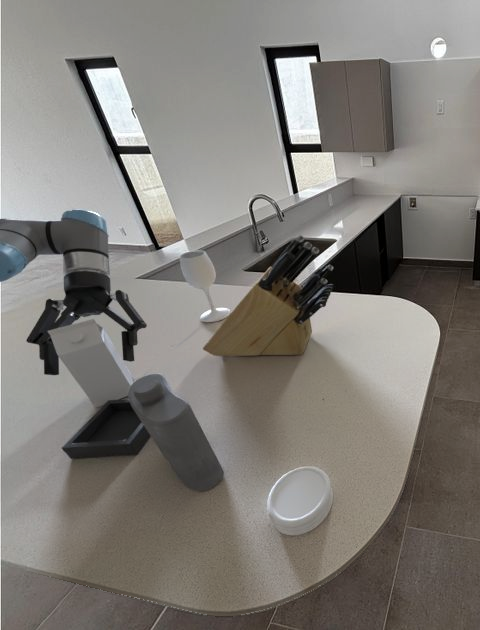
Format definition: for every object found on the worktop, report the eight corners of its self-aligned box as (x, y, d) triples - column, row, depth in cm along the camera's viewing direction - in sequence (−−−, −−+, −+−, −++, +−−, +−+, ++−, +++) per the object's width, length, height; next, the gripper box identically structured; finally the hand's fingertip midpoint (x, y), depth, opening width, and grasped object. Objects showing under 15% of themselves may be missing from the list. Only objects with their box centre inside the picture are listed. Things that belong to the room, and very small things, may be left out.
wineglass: (197, 315, 108) (172, 253, 97) (226, 306, 113) (205, 246, 102) (204, 325, 102) (178, 262, 91) (234, 316, 107) (212, 254, 96)
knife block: (337, 356, 89) (319, 246, 73) (205, 358, 89) (158, 247, 73) (344, 333, 99) (330, 231, 83) (225, 334, 98) (187, 231, 82)
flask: (161, 454, 64) (110, 375, 53) (193, 434, 68) (152, 357, 57) (194, 502, 56) (142, 421, 46) (229, 476, 60) (188, 396, 49)
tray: (70, 459, 63) (61, 448, 61) (115, 410, 73) (108, 400, 71) (137, 455, 64) (129, 444, 62) (172, 407, 74) (166, 397, 72)
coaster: (266, 494, 57) (261, 482, 55) (323, 467, 61) (320, 455, 60) (277, 550, 50) (272, 539, 48) (341, 515, 54) (339, 503, 52)
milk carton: (96, 390, 78) (48, 323, 68) (133, 377, 82) (93, 312, 72) (96, 408, 74) (45, 339, 64) (135, 393, 78) (93, 326, 68)
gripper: (159, 274, 83) (166, 357, 79) (32, 289, 76) (32, 381, 71) (142, 262, 76) (149, 352, 71) (0, 278, 69) (-1, 379, 64)
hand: (91, 367), depth 71 cm, fingers open, 13 cm apart
